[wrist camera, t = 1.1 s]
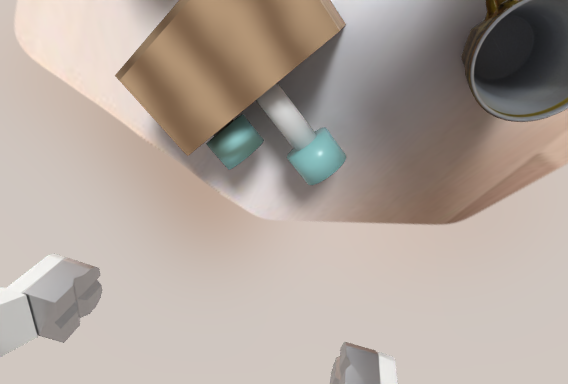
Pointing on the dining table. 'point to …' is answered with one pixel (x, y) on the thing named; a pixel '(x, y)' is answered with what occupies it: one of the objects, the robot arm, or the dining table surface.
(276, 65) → the block
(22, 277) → the robot arm
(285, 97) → the knob
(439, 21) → the dining table surface
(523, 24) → the ceramic cup
